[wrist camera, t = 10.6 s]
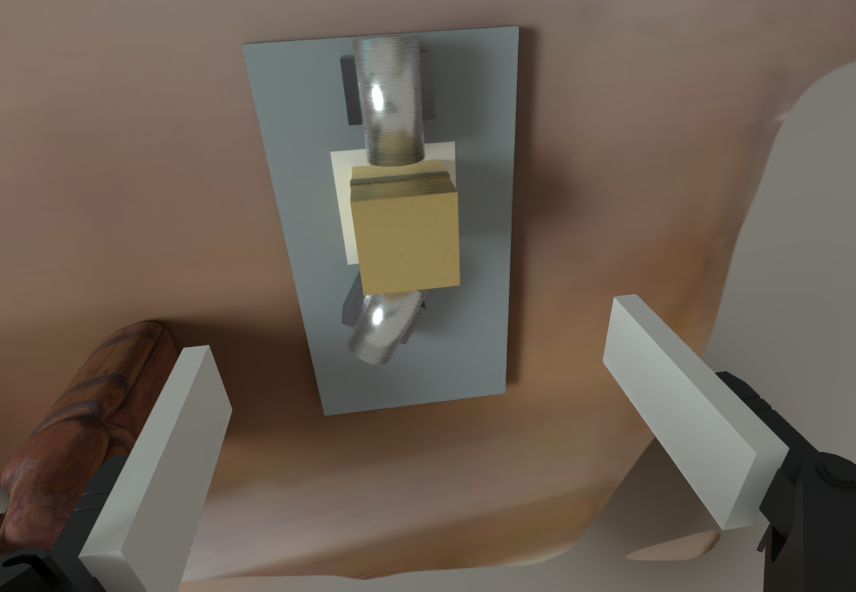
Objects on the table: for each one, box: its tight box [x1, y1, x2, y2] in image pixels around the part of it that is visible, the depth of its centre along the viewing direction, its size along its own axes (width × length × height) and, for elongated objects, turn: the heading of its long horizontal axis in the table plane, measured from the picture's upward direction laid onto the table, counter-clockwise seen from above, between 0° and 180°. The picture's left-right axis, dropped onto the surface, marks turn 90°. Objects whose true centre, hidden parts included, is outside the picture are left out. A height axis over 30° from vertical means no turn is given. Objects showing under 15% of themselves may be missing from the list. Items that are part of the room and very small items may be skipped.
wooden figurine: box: [0, 321, 179, 559], centre depth 27 cm, size 12×6×18 cm, turn 176°
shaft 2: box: [342, 270, 429, 365], centre depth 30 cm, size 6×4×4 cm
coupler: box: [350, 159, 460, 296], centre depth 26 cm, size 5×5×6 cm
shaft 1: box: [340, 35, 436, 167], centre depth 24 cm, size 6×4×4 cm
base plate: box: [241, 26, 519, 416], centre depth 31 cm, size 25×14×1 cm, turn 3°
